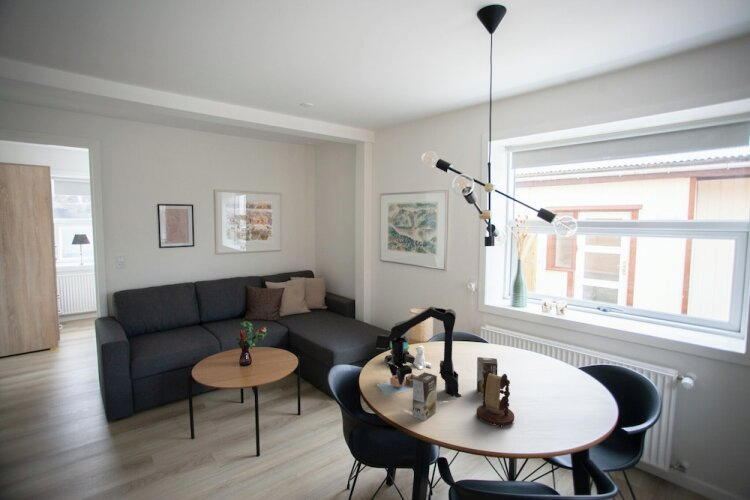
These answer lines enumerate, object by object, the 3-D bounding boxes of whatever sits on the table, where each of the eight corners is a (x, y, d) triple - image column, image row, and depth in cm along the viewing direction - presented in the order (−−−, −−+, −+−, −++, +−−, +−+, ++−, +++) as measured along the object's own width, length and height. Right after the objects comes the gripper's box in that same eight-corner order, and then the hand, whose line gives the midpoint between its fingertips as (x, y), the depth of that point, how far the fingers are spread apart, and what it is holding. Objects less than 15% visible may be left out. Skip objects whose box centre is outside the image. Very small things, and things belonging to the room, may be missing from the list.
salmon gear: (407, 385, 175) (407, 379, 175) (394, 387, 173) (394, 381, 172) (400, 379, 181) (400, 373, 181) (388, 382, 179) (388, 376, 179)
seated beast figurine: (420, 372, 196) (420, 350, 195) (408, 367, 203) (409, 346, 202) (432, 367, 202) (432, 346, 201) (420, 362, 209) (421, 342, 208)
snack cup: (409, 367, 202) (409, 349, 201) (390, 367, 203) (390, 349, 202) (408, 356, 218) (408, 340, 217) (390, 356, 218) (390, 339, 217)
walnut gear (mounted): (422, 383, 180) (422, 374, 180) (413, 388, 175) (413, 379, 175) (411, 379, 185) (411, 370, 184) (402, 383, 180) (402, 374, 180)
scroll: (469, 418, 151) (470, 371, 149) (487, 405, 161) (488, 361, 159) (503, 433, 140) (505, 383, 139) (520, 418, 151) (522, 371, 149)
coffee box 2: (496, 391, 174) (497, 358, 173) (497, 397, 168) (498, 363, 167) (476, 389, 177) (477, 356, 175) (476, 395, 171) (477, 361, 169)
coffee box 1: (425, 421, 149) (425, 383, 147) (411, 416, 153) (412, 378, 151) (436, 412, 156) (437, 375, 154) (423, 407, 160) (424, 371, 159)
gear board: (428, 389, 177) (428, 387, 177) (386, 397, 169) (386, 395, 169) (416, 378, 188) (416, 377, 188) (376, 386, 180) (376, 384, 180)
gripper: (422, 354, 170) (422, 386, 171) (404, 341, 187) (404, 371, 189) (400, 357, 166) (400, 391, 167) (384, 344, 183) (384, 375, 184)
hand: (397, 381), depth 177 cm, fingers closed on salmon gear, 6 cm apart
